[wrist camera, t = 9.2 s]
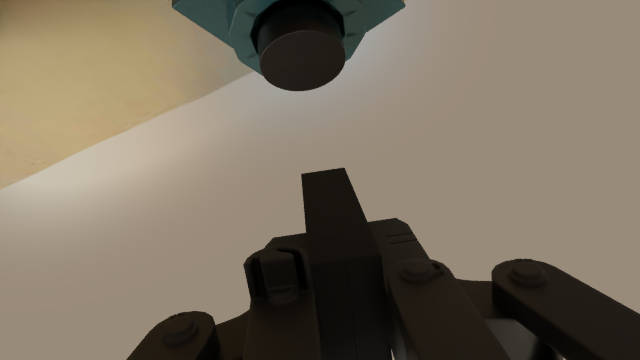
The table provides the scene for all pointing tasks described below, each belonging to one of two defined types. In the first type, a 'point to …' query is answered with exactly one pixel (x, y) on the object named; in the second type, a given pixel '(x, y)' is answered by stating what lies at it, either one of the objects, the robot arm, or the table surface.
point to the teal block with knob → (250, 3)
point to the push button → (300, 44)
